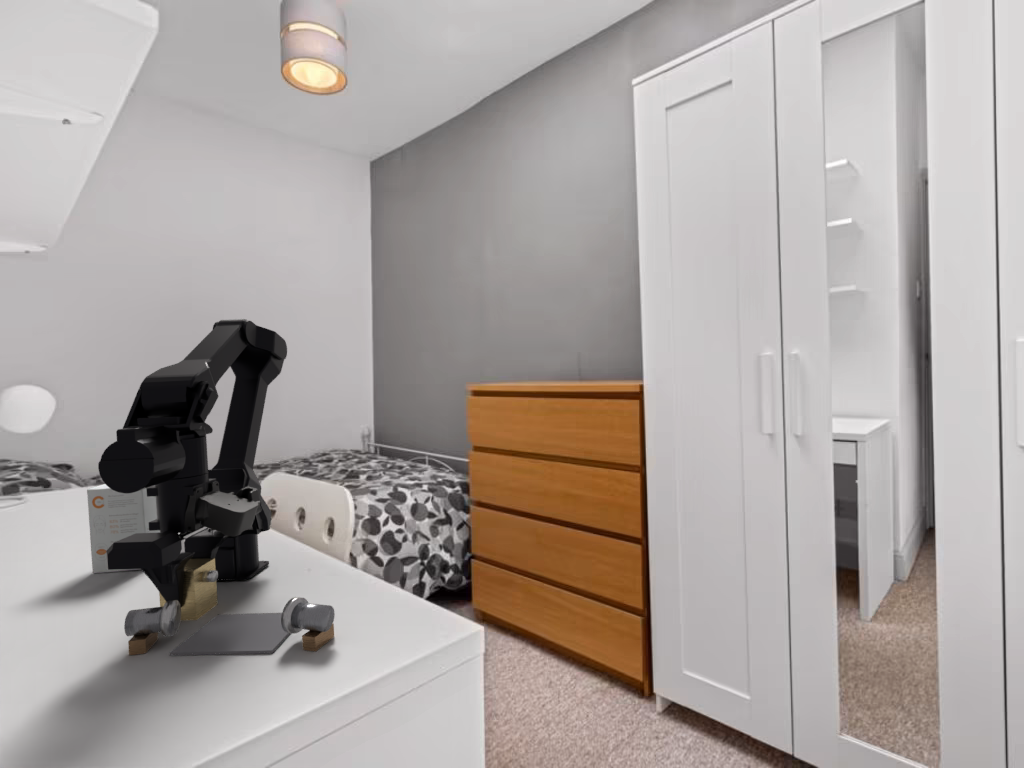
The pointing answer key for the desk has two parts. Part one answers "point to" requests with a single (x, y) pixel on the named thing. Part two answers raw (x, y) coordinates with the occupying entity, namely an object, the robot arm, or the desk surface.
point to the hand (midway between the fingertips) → (189, 599)
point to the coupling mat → (236, 635)
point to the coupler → (198, 588)
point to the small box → (116, 520)
